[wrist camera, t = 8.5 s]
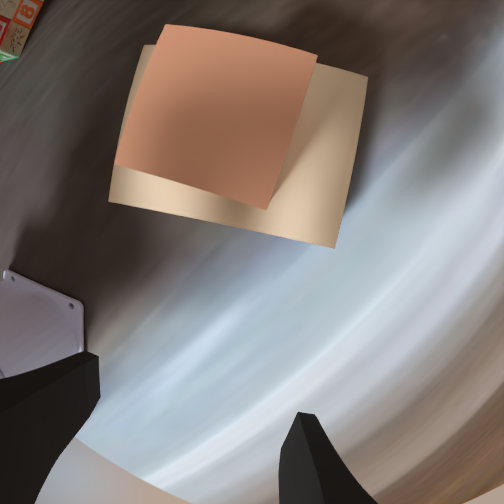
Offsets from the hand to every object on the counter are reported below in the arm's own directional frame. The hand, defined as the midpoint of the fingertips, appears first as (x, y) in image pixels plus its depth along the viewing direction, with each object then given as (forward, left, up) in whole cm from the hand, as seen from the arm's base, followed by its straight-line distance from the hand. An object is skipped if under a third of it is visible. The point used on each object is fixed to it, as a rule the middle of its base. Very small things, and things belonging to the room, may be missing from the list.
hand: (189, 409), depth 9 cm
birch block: (-2, +10, -11) cm, 15 cm away
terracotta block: (-1, +10, -7) cm, 12 cm away
